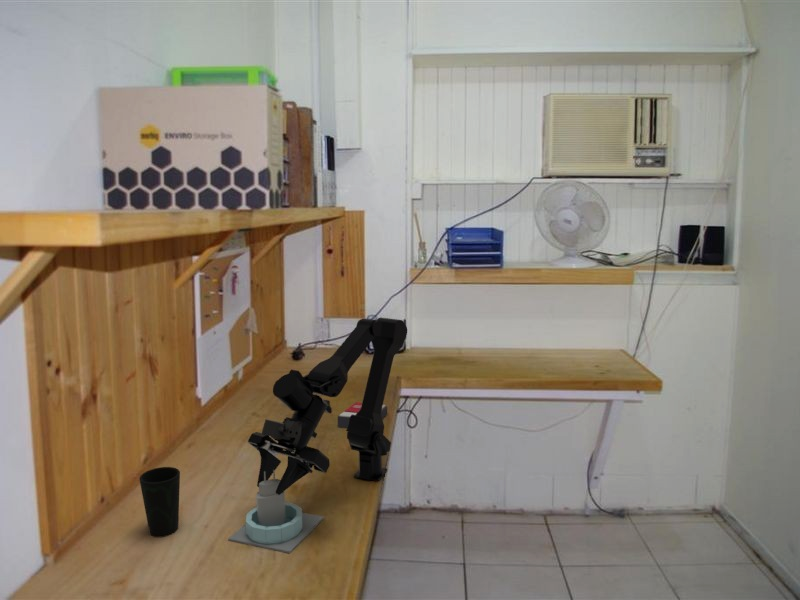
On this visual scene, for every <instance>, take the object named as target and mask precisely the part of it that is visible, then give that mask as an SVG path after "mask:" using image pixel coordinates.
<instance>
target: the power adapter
mask: <svg viewBox="0 0 800 600" xmlns="http://www.w3.org/2000/svg"><path fill="white" fill-rule="evenodd" d="M275 472H276V470H273V474H272V477H273V479H268V480H266V475H265V472H264V481H262V482H260V483H259V487H258V491H257V492H256V493H255V498H256V500H255V502H256V507H257V523H258V525H261V526H266V527H270V526H280V525H283V524H285V523H286V516H285V502H286V499H285V495H286V494H285V491H284V492H283V493H281V494H280V495H278V494H276V489H277V487H278V484H279V482H280V480H281V479H278V478H276V474H275Z"/></svg>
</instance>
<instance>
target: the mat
mask: <svg viewBox="0 0 800 600" xmlns="http://www.w3.org/2000/svg"><path fill="white" fill-rule="evenodd" d="M324 518H325V517H324V516H321V515H315V514H311V513H305V512H302V530H301V532H300V534H299V535H297V536H296V537H295V538H293V539H291V540H289V541H286V542H283V543H279V544H260V543H256V542H254V541H252V540H250V539H249V537H248V535H247V534H246V523H245V524H244V525H242V526H241V527H240V528H238V530H237V531H235V532H234V533H233V534H231V536H229V537H228V542H234V543H238V544H243V545H249V546H251V547H252V546H253V547H258V548H262V549H267V550H272V551H276V552H280V553H281V552H282V553H286V554H291V553H292V552H294V550H296V549H297V547H298V546H299V545H300V544H301V543H302V542H303V541H304V540H305V539H306V538H307V537H308V536H309V535H310V533H312V532H313V530H314V529H316V527H317V526H318V525H319V524H321V522H322V521H324Z"/></svg>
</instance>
